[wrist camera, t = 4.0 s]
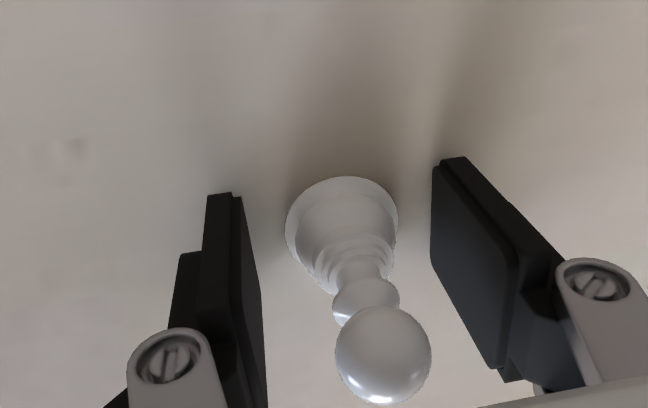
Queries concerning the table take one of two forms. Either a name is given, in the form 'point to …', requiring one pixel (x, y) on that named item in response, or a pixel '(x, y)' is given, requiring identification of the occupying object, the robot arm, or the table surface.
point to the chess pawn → (360, 286)
